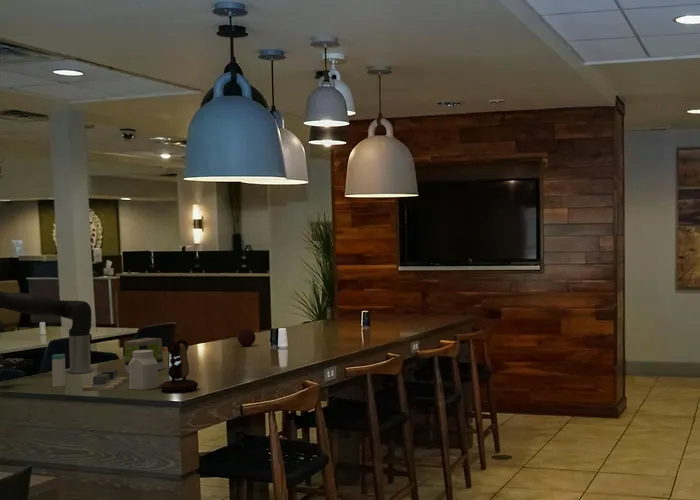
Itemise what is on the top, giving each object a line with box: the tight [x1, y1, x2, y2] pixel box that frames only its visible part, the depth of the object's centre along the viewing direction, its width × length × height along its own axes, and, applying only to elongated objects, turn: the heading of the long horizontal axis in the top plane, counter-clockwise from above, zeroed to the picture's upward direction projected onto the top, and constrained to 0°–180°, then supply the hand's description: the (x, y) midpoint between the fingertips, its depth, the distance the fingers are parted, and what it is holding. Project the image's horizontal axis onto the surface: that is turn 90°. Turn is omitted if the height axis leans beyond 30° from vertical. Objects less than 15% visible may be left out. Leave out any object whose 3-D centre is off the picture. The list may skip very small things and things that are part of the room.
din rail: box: [92, 368, 120, 387], centre depth 365 cm, size 25×5×4 cm, turn 1°
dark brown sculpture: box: [159, 338, 199, 393], centre depth 346 cm, size 15×15×20 cm
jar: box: [128, 350, 159, 391], centre depth 355 cm, size 12×10×15 cm
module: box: [51, 353, 67, 388], centre depth 366 cm, size 4×4×13 cm
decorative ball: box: [237, 328, 257, 347], centre depth 491 cm, size 10×10×10 cm
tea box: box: [123, 337, 164, 374], centre depth 403 cm, size 15×10×15 cm
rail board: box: [82, 376, 128, 392], centre depth 365 cm, size 26×12×1 cm, turn 1°
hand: (28, 363), depth 366 cm, fingers open, 8 cm apart
